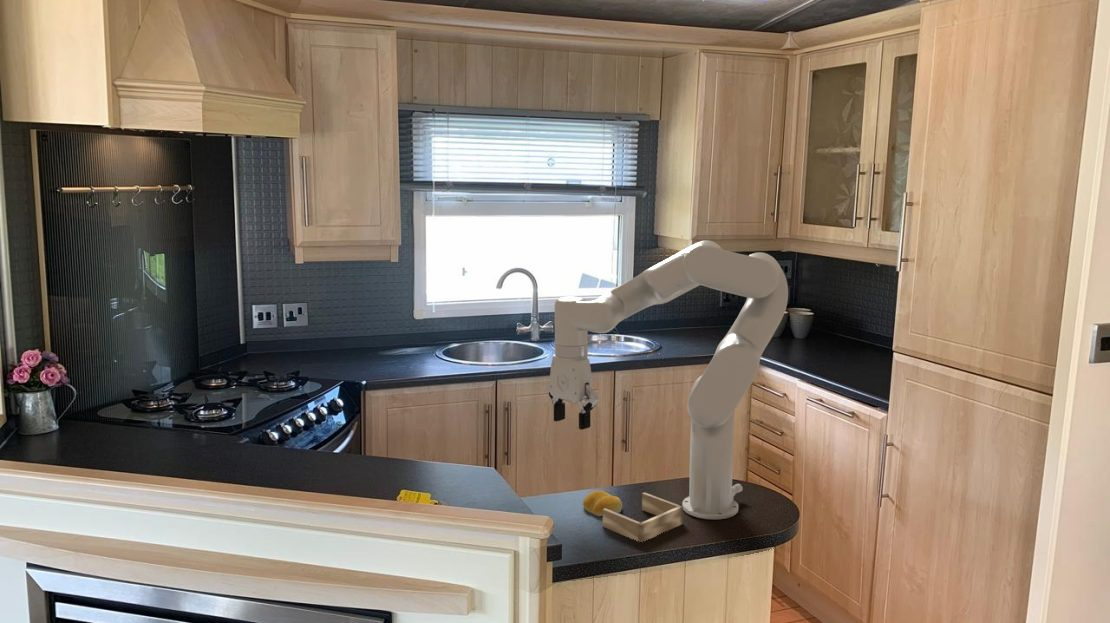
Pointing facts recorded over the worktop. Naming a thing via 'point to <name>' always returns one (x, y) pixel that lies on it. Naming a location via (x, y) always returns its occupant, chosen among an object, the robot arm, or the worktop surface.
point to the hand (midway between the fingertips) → (571, 423)
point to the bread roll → (601, 503)
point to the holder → (664, 520)
